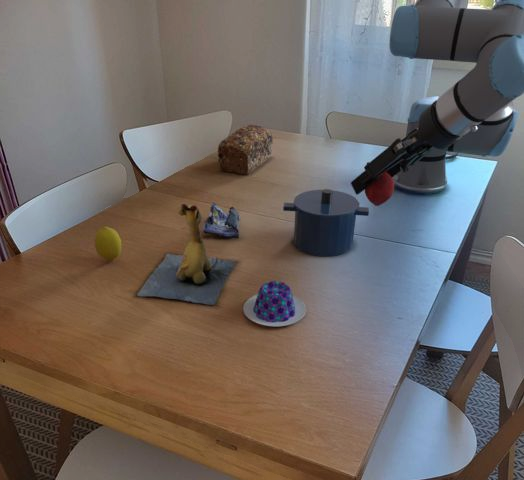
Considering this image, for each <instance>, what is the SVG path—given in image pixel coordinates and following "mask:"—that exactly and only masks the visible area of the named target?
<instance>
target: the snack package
mask: <svg viewBox="0 0 524 480" xmlns="http://www.w3.org/2000/svg"><path fill="white" fill-rule="evenodd" d="M223 207H224V208H225V206H223ZM226 207H227V208H228V207H229V206H226ZM240 222H241V214H240V213H239V211H238V210H237V209H236V208H235V207H234V206H230V207H229V210H228V213H227V212H225V211H224V210H223V209H222V208H220V207H219V206H218V205H217V204H216V203H215V202H211V204H210V209H209V213H208V217H207V218H206V220H205V221H204V225H203V227H202V231H203V233H204V234H216V235H218V236H219V238H220V239H227V240H228V239H239V237H240V231H239V226H240ZM218 236H217V237H216V238H218Z"/></svg>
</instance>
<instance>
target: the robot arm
mask: <svg viewBox="0 0 524 480" xmlns="http://www.w3.org/2000/svg"><path fill="white" fill-rule="evenodd" d="M462 2H463V0H416V1H415V2H414V4H410V5H401V6H398V7H397V8H396V9H395V11H394V14H393V16H392V21H391V27H390V34H389V51H390V53H391V55H393V56H394V57H400V58H401V57H402V58H408V59H409V60H414V59H416V60H417V59H418V60H432V61H447V62H449V61H450V62H460V63H474V64H475V66H474V67H473V68H472V69H471V70H469V71H468V73H466V74H465V75H464V76H463V77H461V79H459V80H458V81H457V82H455V83H454V84H453V85H452V86H451V87H449V88H448V89H447V90H445V91H444V93H442V94H441V95H437V96H428V97H423V98H419V99H417V100H416V101H414V102H413V103H412V104H411V106H410V110H409V114H408V118H407V127H406V132H405V137H404V138H402V139H401V137H398V138H396V139H395V140H394V141H393V142H392V143H391V144H390V145H389V146H387V148H386V149H384V150H383V151H382V152H381V153H379V154H378V155H377V156H375V157H374V158H373V159H372V160H370V161H367V162H366V164H365V165H364V167H363V169H364V171H362V173H360V174H359V175H358V176H357V177H355V178H354V179H353V180H352V181H350V185H351V187H352V189H353V191H354V193H355V195H360V193H362V192H364V191H365V189H366V188H367V187H368V186H370V185H371V184H372V183H374V182H375V181H376V180H377V179H379V176H380V175H382V174H383V173H384V172H387V173H388V174H389V175H390V176H391V177H392V179H393V181H394V189H397V190H399V191H401V192H404V193H407V194H411V195H421V196H427V195H428V196H429V195H430V196H431V195H438V194H440V193H443V192H444V191H445V190H446V188H447V184H448V178H447V169H446V160H450V159H454V158H456V157H457V156H458V155H459V154H466V155H474V156H480V157H484V158H485V157H495V158H496V157H500V156H501V155H503V154H504V152H505V151H506V149H507V146H509V145H508V144H509V143H510V141H511V138H512V136H513V132H514V129H515V127H516V124H517V121H518V116H519V113H518V111H517V110H515V103H514V100H515V99H518V98H519V97H520V96H522V95H524V0H494V2H493V6H492V7H491V8H490V9H488V8H465V7H461V5H462ZM447 152H449V153H454V154H451V155H447Z"/></svg>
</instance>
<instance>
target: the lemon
mask: <svg viewBox="0 0 524 480" xmlns="http://www.w3.org/2000/svg"><path fill="white" fill-rule="evenodd" d="M94 248H95V250H96V253H97V254H98V255H99V256H100V258H102V259H104V260H108V261H109V262H113V260H115V259H116V258H118V257H119V256H120V254H121V252H122V249H123V248H122V240H121V237H120V235H119V233H118V232H117V231H116V230H115V229H114V228H111V227H108V226H103V227H102V228H100V229H98V231H97V232H96V233H95V235H94Z"/></svg>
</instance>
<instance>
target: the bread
mask: <svg viewBox="0 0 524 480" xmlns="http://www.w3.org/2000/svg"><path fill="white" fill-rule="evenodd" d="M273 139H274V138H273V135H272V133H271V132H270V131H268V129H266V128H265V127H262V126H260V125H258V124H246V125H244V126H242V127H240V128H239V129H237V130H236V131H234V132H233V133H231V134H230V135H228V136H226V137H225V138H224V139H223V140H221V141H220V143H219V144H218V147H217V157H218V163H219V169H220V170H221V171H225V172H227V173H231V172H234V173H236V174H239V175H247V176H249V175H250V174H251V173H252V172H254V171H256V170H257V169H258V168H259V167H261V166H262V165H263V164H264V163H266V162H267V161H268V160H269V159H270V158H271V156H272V153H273V145H274V144H273V143H274V141H273Z"/></svg>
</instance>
